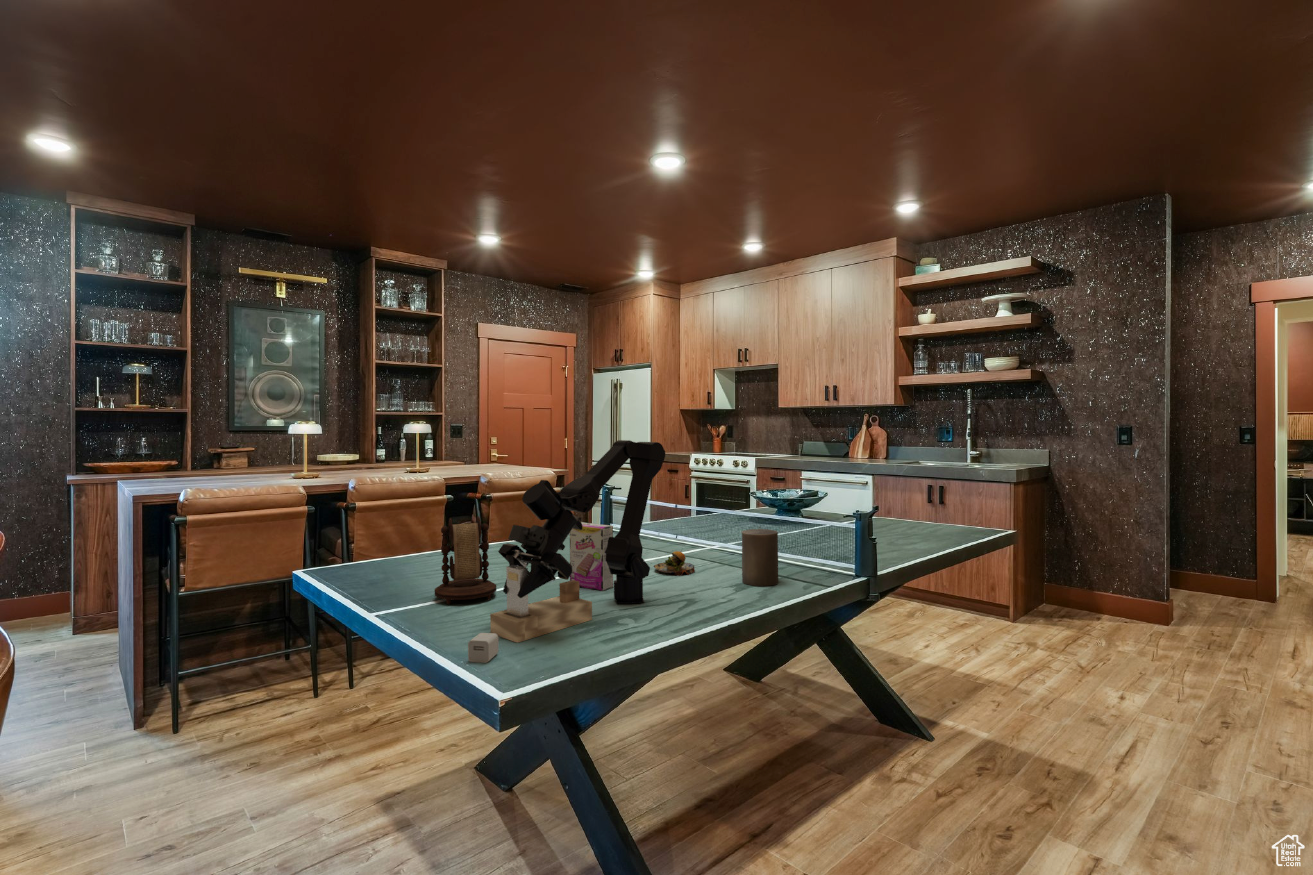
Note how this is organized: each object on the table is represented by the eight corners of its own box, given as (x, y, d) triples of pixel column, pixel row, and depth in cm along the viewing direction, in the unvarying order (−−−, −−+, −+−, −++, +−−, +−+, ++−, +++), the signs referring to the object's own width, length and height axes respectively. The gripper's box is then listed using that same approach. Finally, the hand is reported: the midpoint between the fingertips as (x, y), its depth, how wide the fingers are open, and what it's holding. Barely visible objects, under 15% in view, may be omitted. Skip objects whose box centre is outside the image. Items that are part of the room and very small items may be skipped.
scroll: (438, 609, 157) (436, 523, 156) (431, 594, 170) (430, 515, 170) (501, 601, 163) (500, 519, 162) (490, 587, 176) (489, 511, 176)
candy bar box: (568, 586, 178) (568, 524, 177) (580, 582, 182) (580, 521, 181) (602, 591, 172) (602, 527, 171) (614, 587, 176) (613, 524, 175)
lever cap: (515, 621, 141) (515, 564, 140) (529, 626, 138) (528, 567, 137) (506, 624, 139) (505, 566, 138) (519, 628, 136) (519, 569, 135)
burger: (654, 567, 200) (654, 542, 200) (694, 567, 200) (694, 542, 200) (653, 577, 188) (652, 550, 188) (695, 577, 188) (695, 550, 188)
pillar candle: (781, 586, 176) (781, 529, 175) (743, 586, 176) (743, 529, 175) (775, 577, 185) (775, 523, 185) (739, 577, 185) (739, 523, 185)
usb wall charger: (468, 661, 122) (468, 640, 122) (483, 648, 129) (483, 628, 129) (489, 662, 122) (488, 641, 122) (503, 649, 129) (503, 629, 129)
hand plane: (565, 612, 153) (564, 577, 153) (592, 619, 147) (591, 583, 147) (490, 633, 139) (490, 594, 138) (517, 642, 133) (516, 602, 132)
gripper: (505, 506, 147) (461, 565, 139) (560, 514, 134) (516, 579, 126) (534, 537, 153) (494, 595, 145) (590, 547, 140) (549, 611, 132)
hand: (511, 594), depth 137 cm, fingers closed on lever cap, 4 cm apart
